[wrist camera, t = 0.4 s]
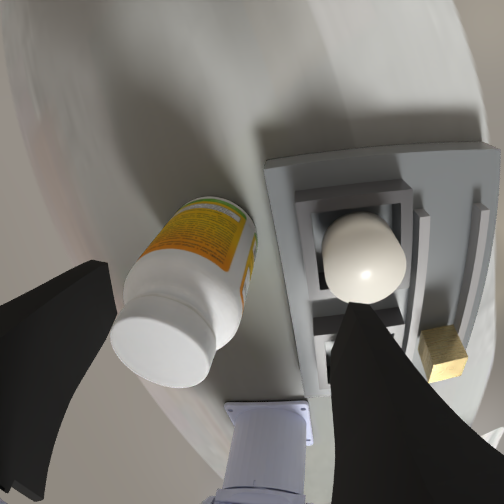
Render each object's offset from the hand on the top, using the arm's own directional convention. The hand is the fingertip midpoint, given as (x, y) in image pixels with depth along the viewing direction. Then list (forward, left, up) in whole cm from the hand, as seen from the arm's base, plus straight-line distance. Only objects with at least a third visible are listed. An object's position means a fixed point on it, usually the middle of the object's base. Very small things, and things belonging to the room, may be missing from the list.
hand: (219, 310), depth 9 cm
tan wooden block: (-10, -10, -7) cm, 16 cm away
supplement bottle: (-2, +3, -10) cm, 11 cm away
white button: (-2, -5, -6) cm, 8 cm away
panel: (-7, -7, -10) cm, 14 cm away
